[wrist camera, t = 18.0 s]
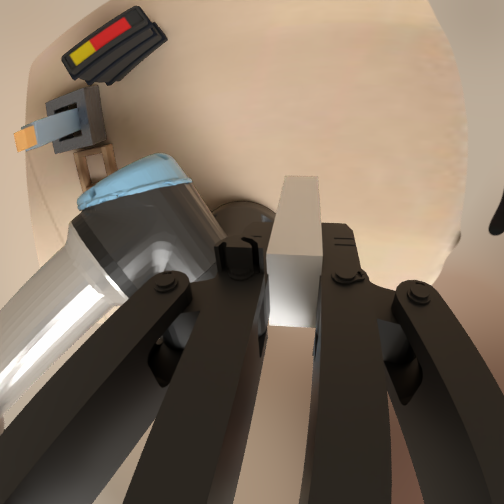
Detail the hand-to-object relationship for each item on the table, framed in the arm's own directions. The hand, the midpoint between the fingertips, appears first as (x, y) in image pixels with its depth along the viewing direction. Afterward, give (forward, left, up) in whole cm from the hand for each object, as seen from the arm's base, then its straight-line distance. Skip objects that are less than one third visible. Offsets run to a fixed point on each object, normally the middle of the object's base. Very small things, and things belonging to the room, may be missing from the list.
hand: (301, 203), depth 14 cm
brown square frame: (-5, +36, -29) cm, 47 cm away
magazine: (+14, +23, -30) cm, 40 cm away
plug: (+5, +38, -29) cm, 48 cm away
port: (+5, +38, -29) cm, 48 cm away
